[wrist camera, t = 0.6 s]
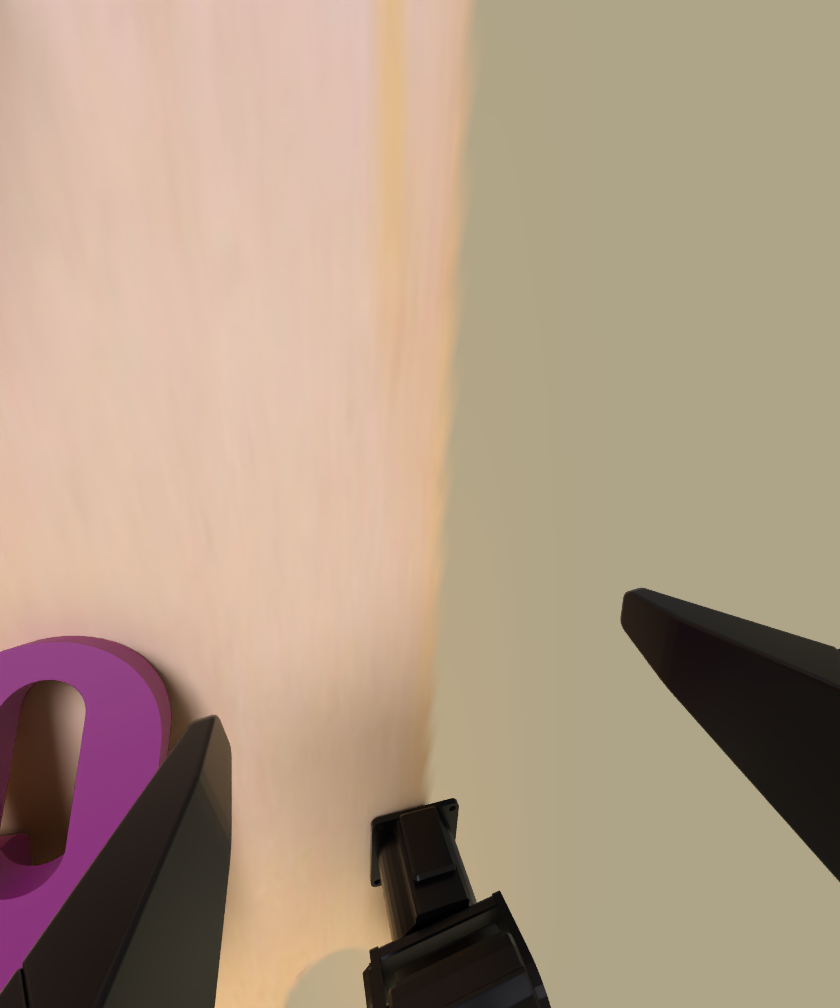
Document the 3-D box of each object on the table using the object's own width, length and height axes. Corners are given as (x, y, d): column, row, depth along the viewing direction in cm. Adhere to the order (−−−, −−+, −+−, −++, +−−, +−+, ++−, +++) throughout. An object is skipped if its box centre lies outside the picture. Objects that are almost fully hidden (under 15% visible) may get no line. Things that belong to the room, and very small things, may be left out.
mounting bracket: (24, 620, 25) (-41, 973, 22) (-87, 644, 17) (-209, 1196, 14) (201, 619, 28) (164, 930, 25) (175, 640, 20) (118, 1094, 17)
